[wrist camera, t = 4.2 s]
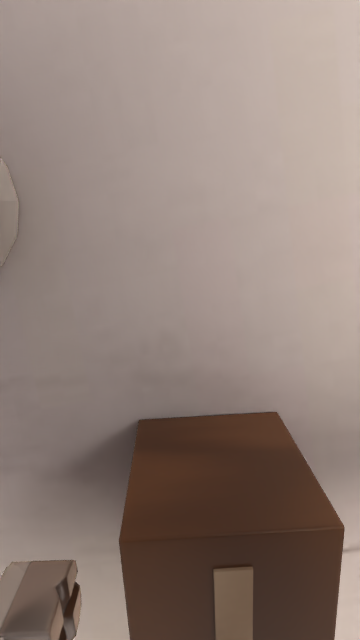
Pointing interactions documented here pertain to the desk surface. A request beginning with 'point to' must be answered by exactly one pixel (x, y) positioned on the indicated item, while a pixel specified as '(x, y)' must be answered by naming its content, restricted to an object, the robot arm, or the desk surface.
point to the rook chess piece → (7, 212)
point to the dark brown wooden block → (227, 534)
